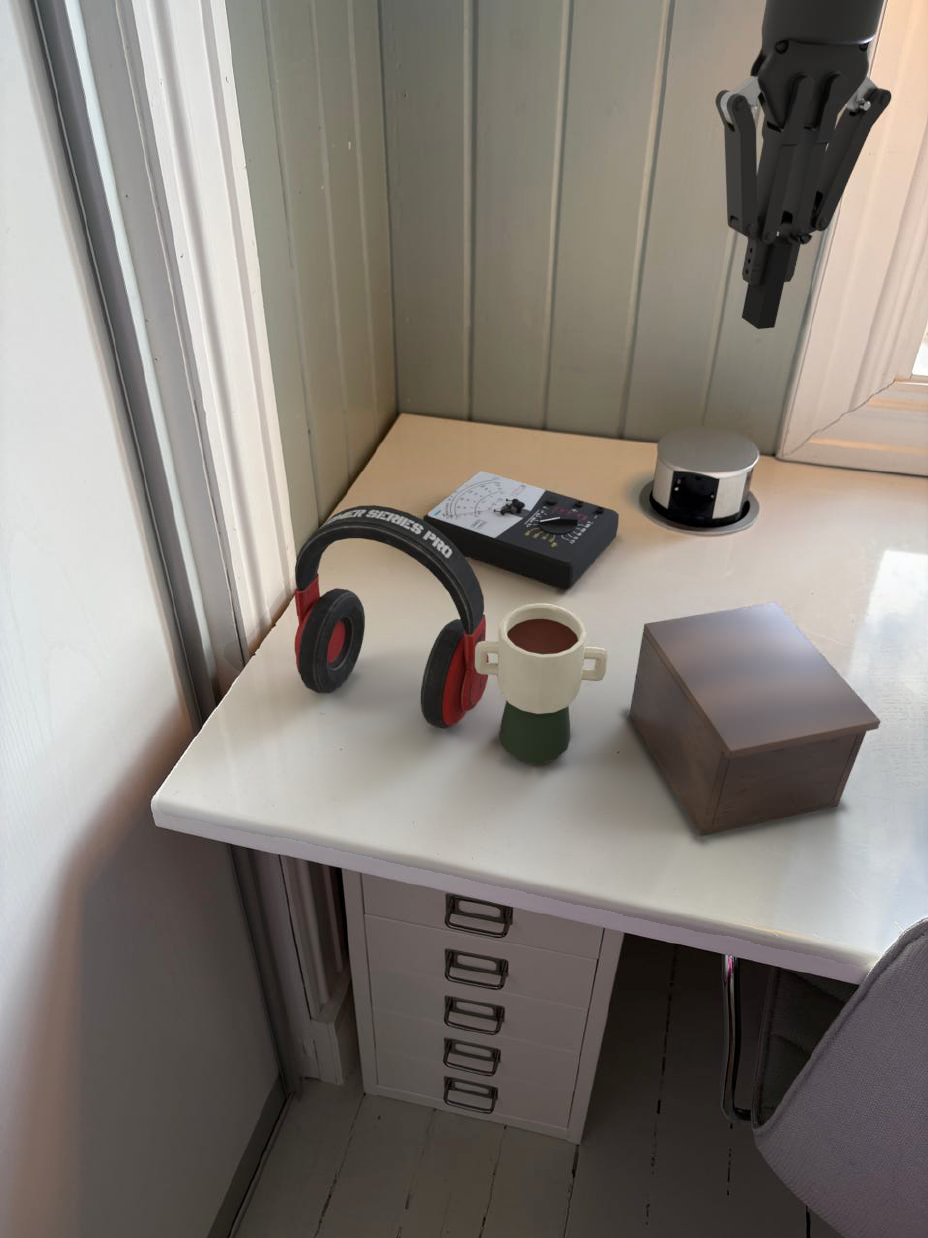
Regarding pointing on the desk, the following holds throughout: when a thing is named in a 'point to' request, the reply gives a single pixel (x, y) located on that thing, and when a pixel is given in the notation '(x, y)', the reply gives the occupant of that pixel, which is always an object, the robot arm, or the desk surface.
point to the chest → (732, 760)
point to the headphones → (340, 620)
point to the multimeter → (525, 528)
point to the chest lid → (758, 680)
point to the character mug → (539, 677)
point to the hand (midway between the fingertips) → (757, 322)
